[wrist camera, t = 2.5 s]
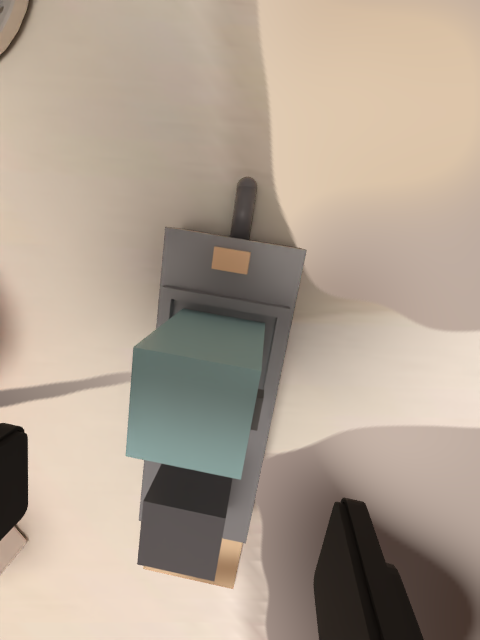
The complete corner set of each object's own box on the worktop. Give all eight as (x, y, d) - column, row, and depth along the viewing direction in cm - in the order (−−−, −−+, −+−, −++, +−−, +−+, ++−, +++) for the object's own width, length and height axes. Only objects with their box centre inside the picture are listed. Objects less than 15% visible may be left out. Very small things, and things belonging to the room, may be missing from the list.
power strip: (186, 169, 20) (131, 125, 12) (313, 188, 19) (341, 156, 12) (152, 494, 26) (103, 599, 19) (247, 514, 26) (237, 630, 18)
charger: (182, 308, 19) (133, 347, 12) (271, 324, 19) (270, 372, 12) (174, 383, 20) (125, 456, 14) (256, 399, 20) (249, 481, 13)
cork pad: (151, 508, 27) (148, 514, 26) (244, 528, 26) (244, 534, 26) (146, 562, 28) (143, 568, 28) (233, 581, 28) (233, 589, 27)
